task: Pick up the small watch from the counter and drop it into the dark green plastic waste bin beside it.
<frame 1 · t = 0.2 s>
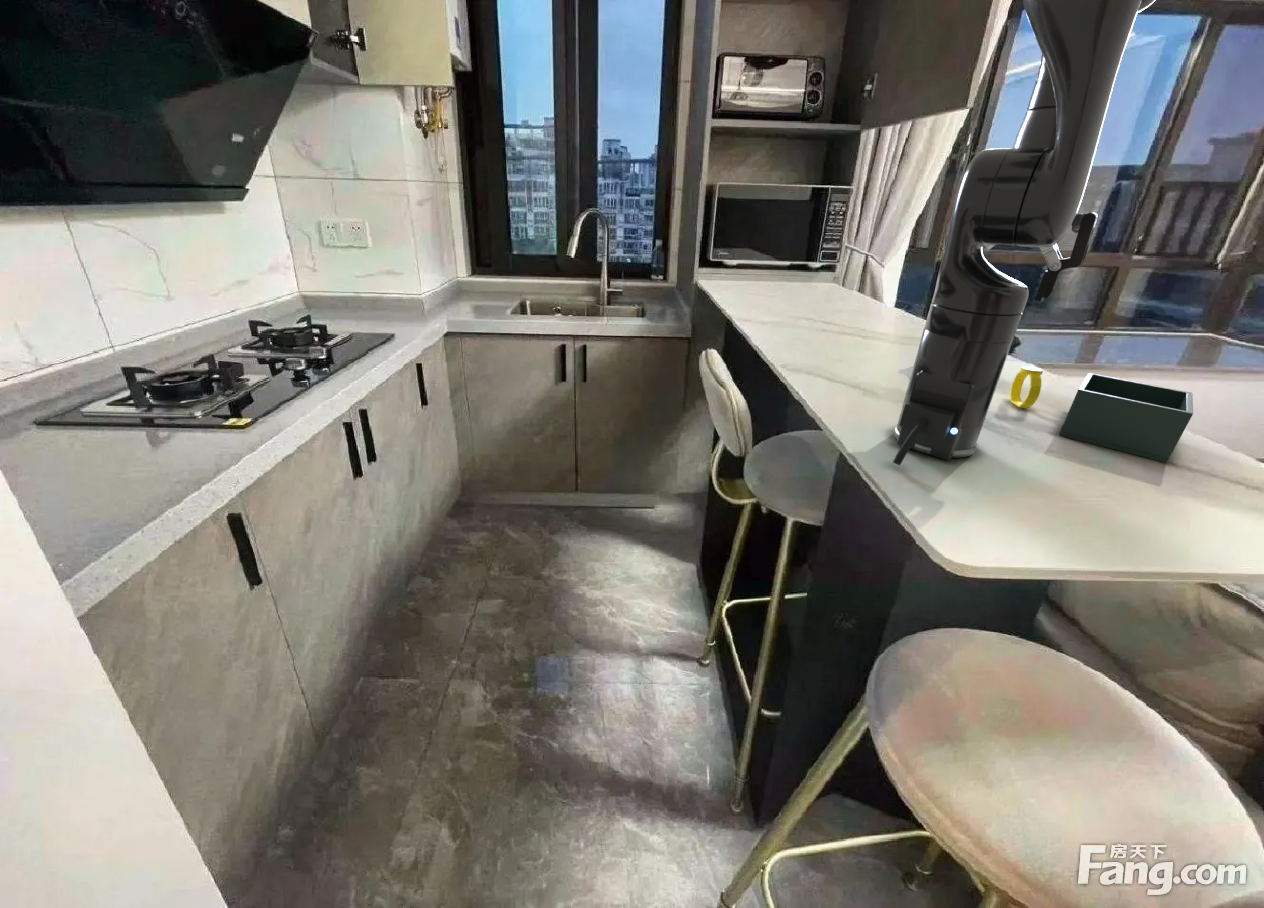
hand: (1000, 296, 71), 17 cm above the table, tool pointing down, fingers open, 8 cm apart
waste bin: (1113, 436, 74), on the table
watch: (1018, 406, 84), on the table
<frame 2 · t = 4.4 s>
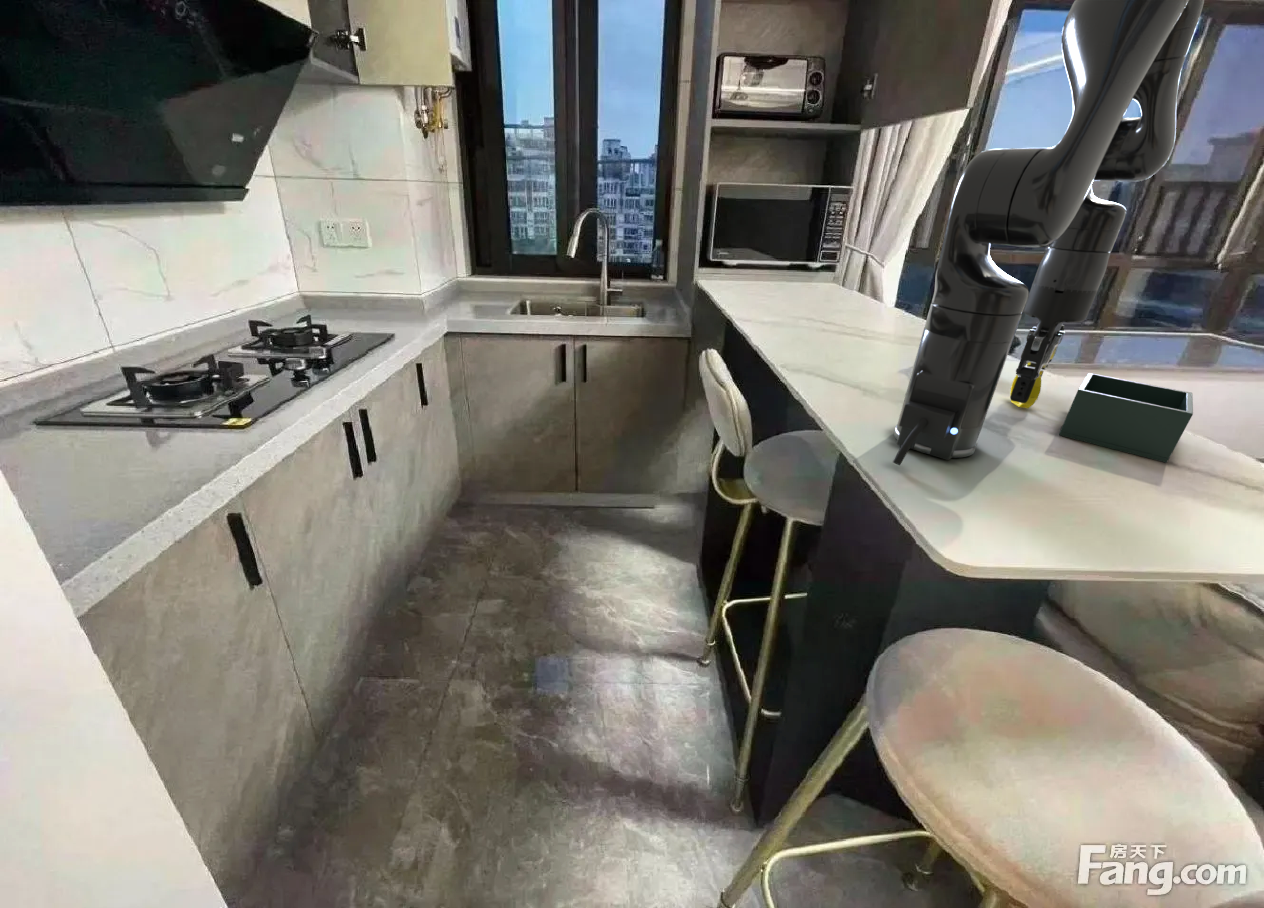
hand: (1022, 396, 83), 2 cm above the table, tool pointing down, fingers closed on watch, 5 cm apart
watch: (1018, 406, 84), on the table, touching gripper
everything else where it was.
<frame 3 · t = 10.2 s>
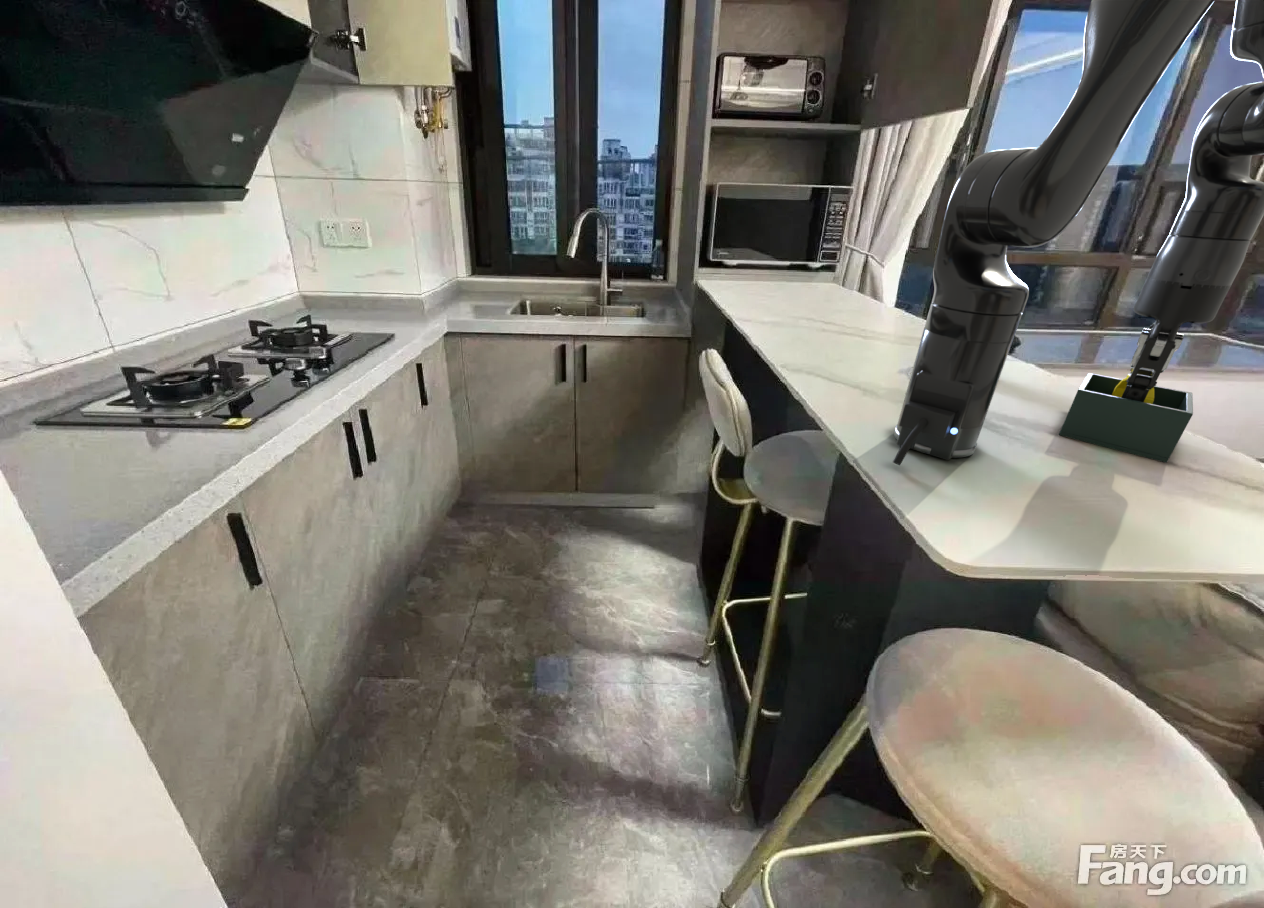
hand: (1127, 407, 72), 4 cm above the table, tool pointing down, fingers closed on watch, 5 cm apart
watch: (1121, 420, 73), point 2 cm above the table, touching gripper
everything else where it was.
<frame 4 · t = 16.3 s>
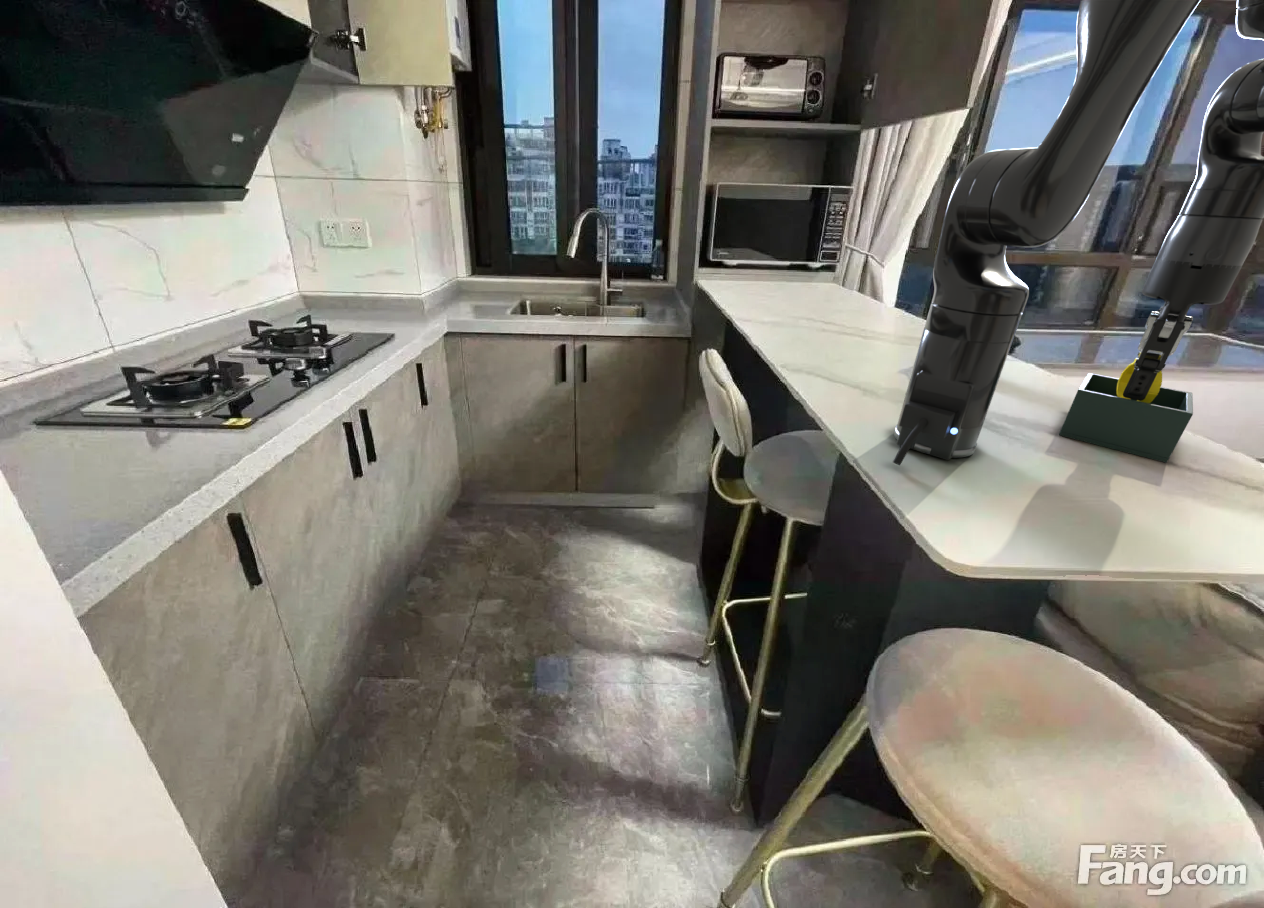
hand: (1134, 392, 71), 6 cm above the table, tool pointing down, fingers closed on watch, 5 cm apart
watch: (1128, 405, 72), point 5 cm above the table, touching gripper
everything else where it was.
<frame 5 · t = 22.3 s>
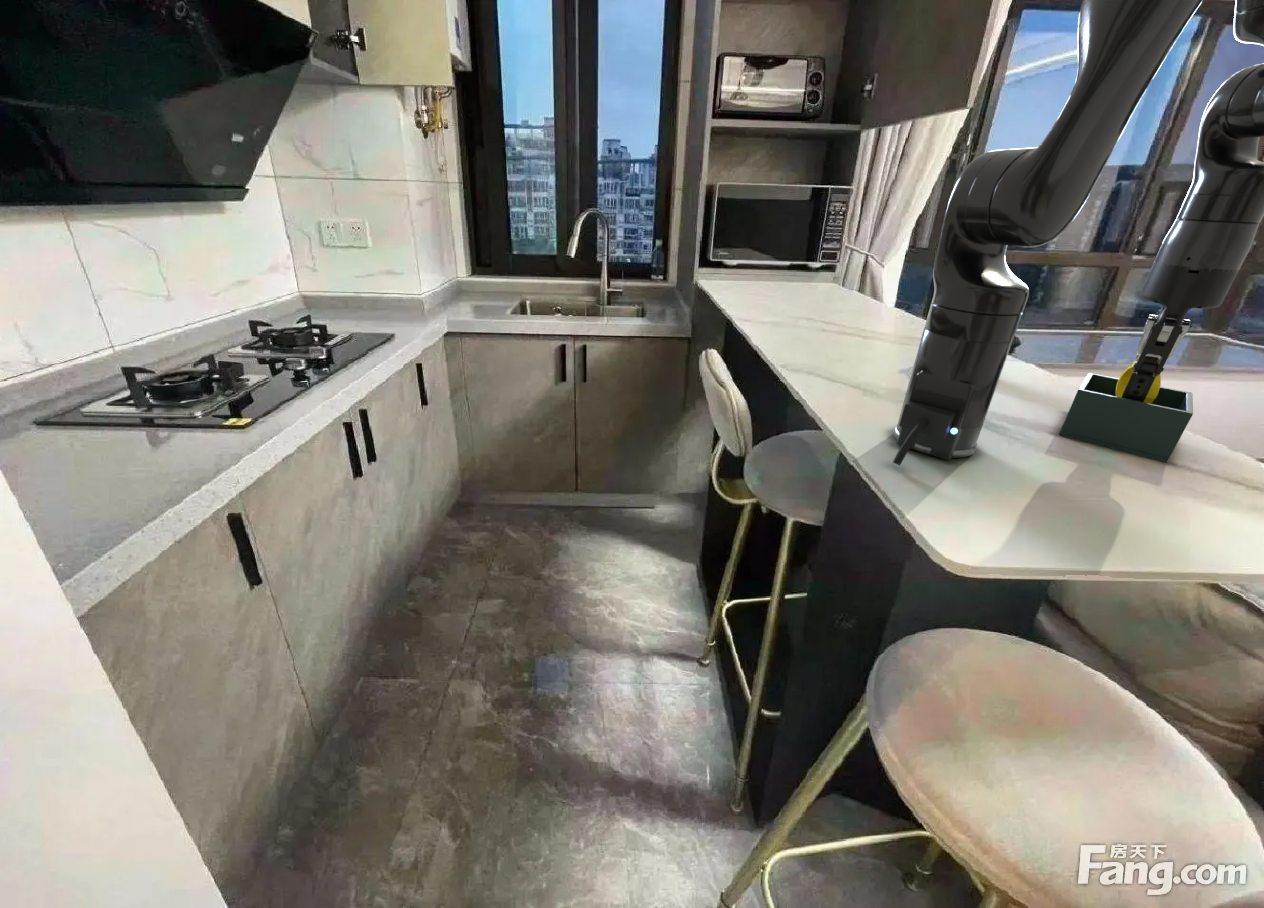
hand: (1133, 395, 72), 6 cm above the table, tool pointing down, fingers closed on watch, 5 cm apart
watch: (1127, 408, 73), point 4 cm above the table, touching gripper
everything else where it was.
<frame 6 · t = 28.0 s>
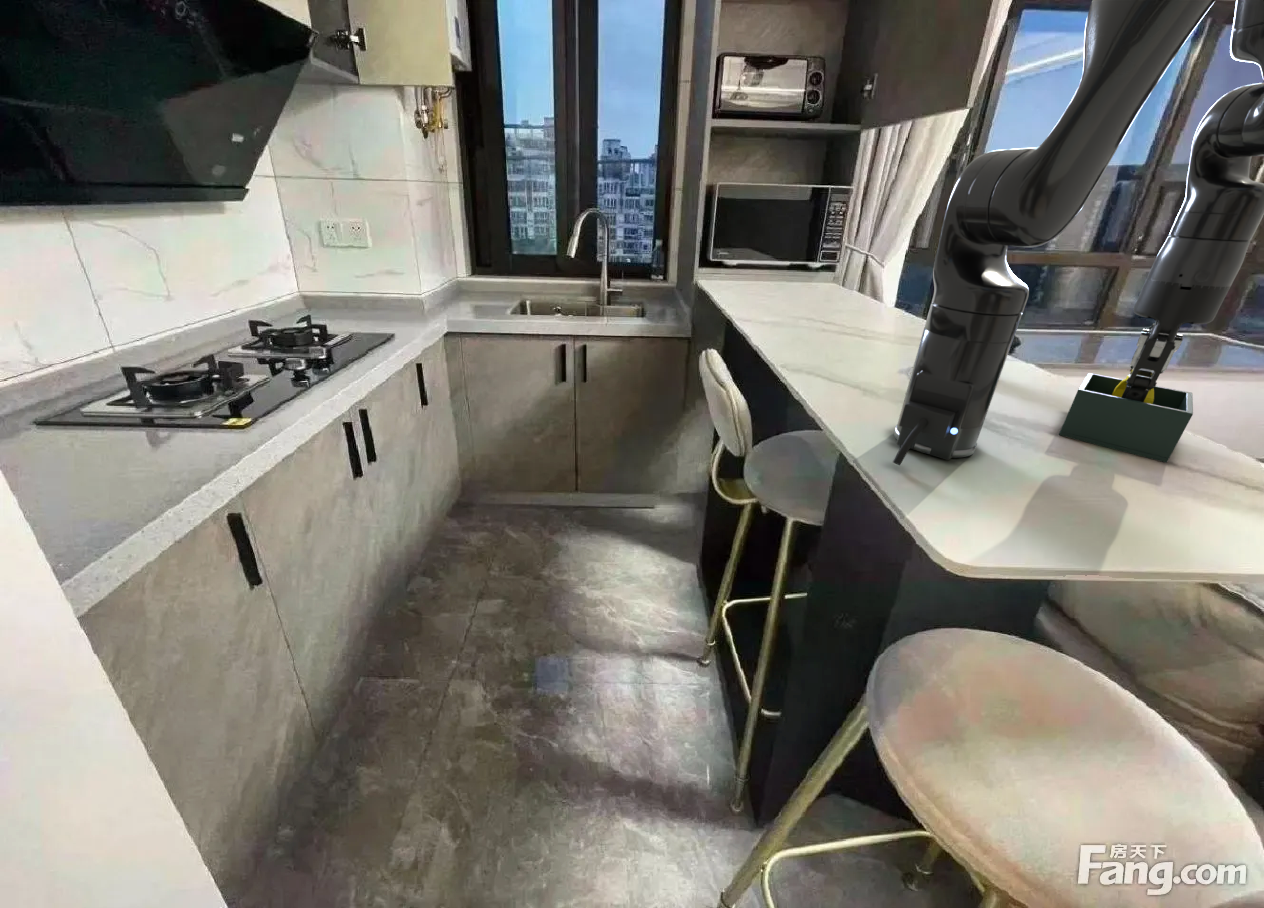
hand: (1126, 408, 73), 4 cm above the table, tool pointing down, fingers closed on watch, 5 cm apart
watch: (1121, 420, 73), point 2 cm above the table, touching gripper
everything else where it was.
when the fingers open (7 cm above the table, at t = 31.7 s): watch drops 4 cm, resting on waste bin.
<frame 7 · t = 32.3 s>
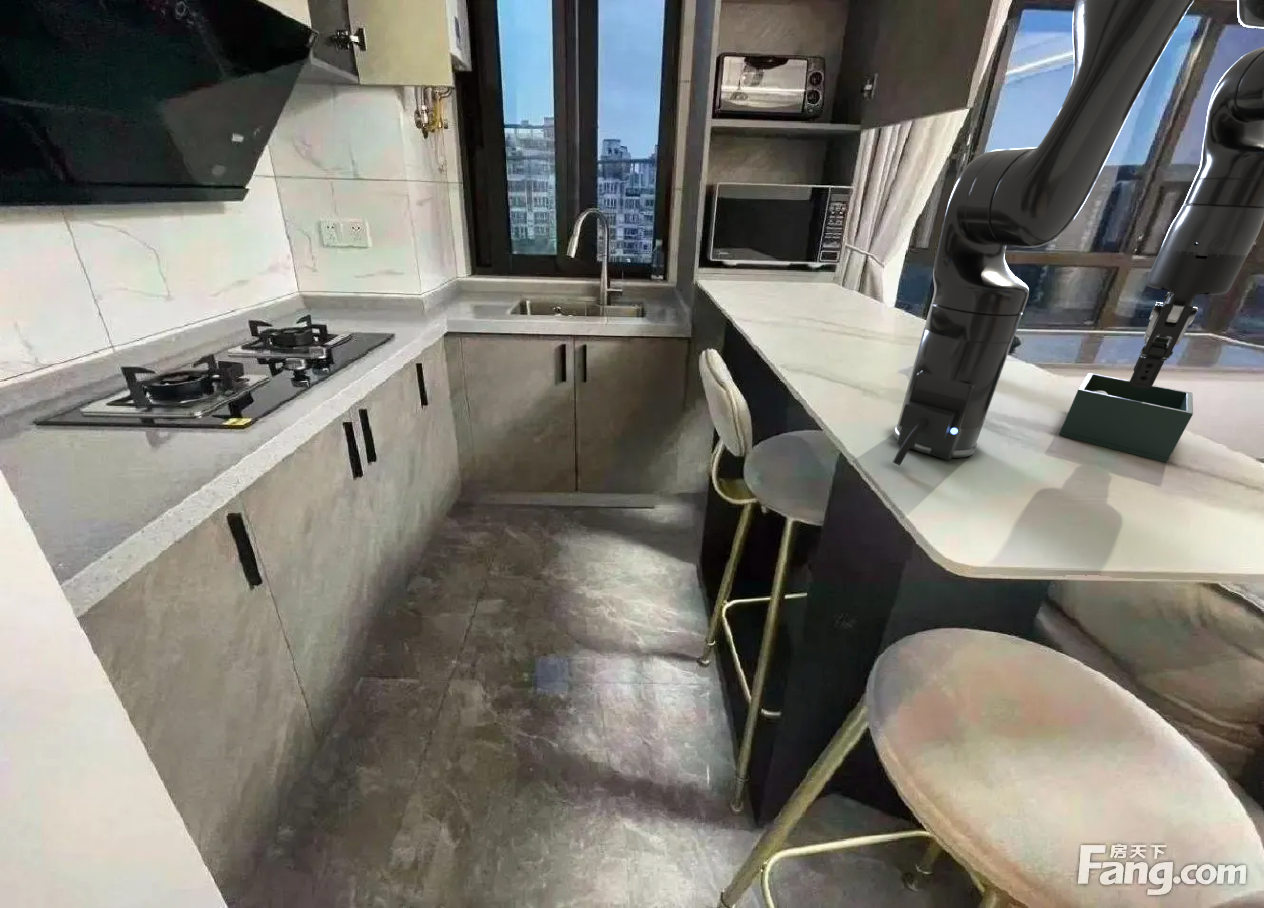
hand: (1140, 380, 71), 8 cm above the table, tool pointing down, fingers open, 8 cm apart
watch: (1113, 429, 74), point 1 cm above the table, touching waste bin
everything else where it was.
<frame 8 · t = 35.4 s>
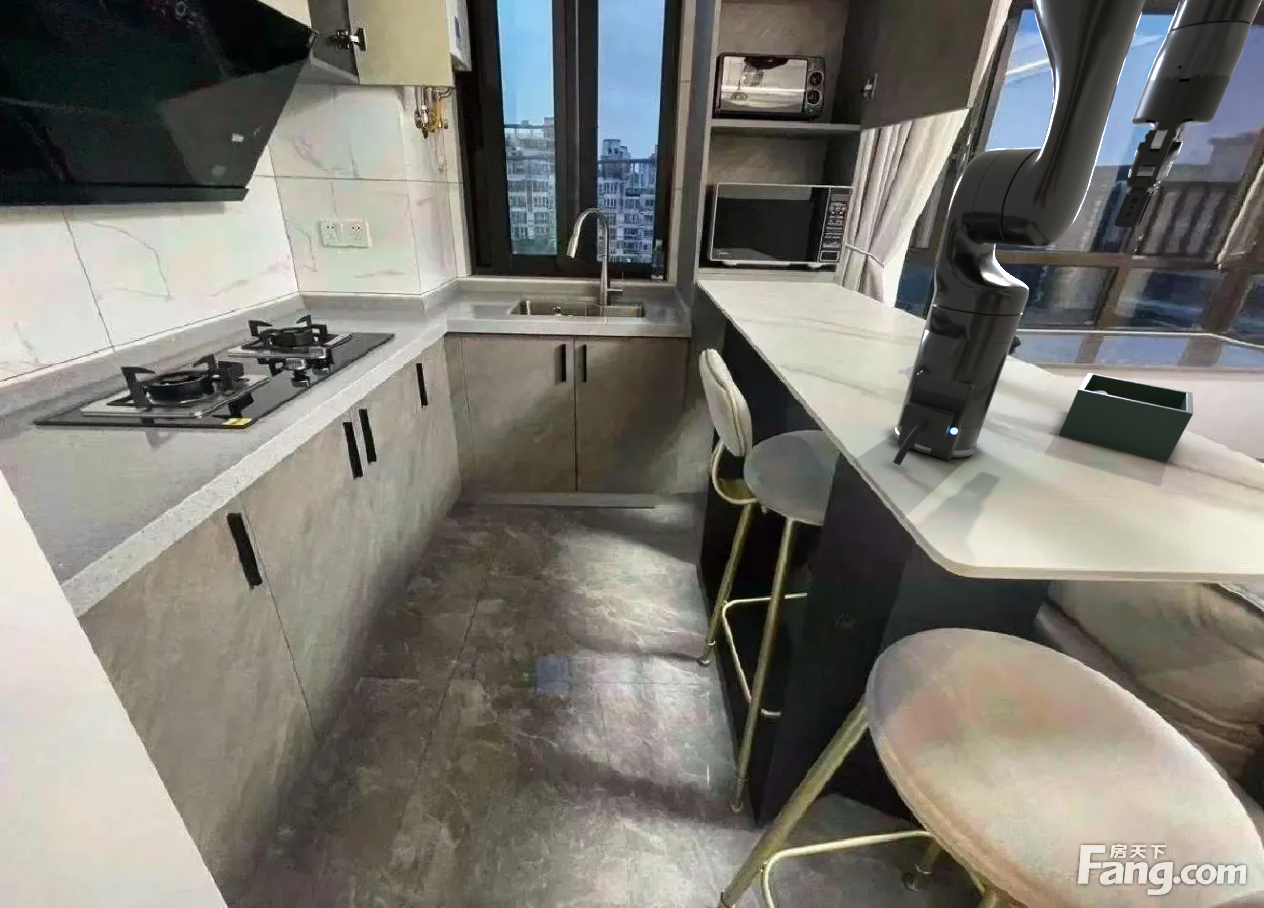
hand: (1126, 226, 71), 26 cm above the table, tool pointing down, fingers open, 8 cm apart
nothing on the table moved.
at the end: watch inside the target area in the waste bin (0.5 cm from its centre), point 1.0 cm above the waste bin's base; the gripper is holding nothing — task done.
